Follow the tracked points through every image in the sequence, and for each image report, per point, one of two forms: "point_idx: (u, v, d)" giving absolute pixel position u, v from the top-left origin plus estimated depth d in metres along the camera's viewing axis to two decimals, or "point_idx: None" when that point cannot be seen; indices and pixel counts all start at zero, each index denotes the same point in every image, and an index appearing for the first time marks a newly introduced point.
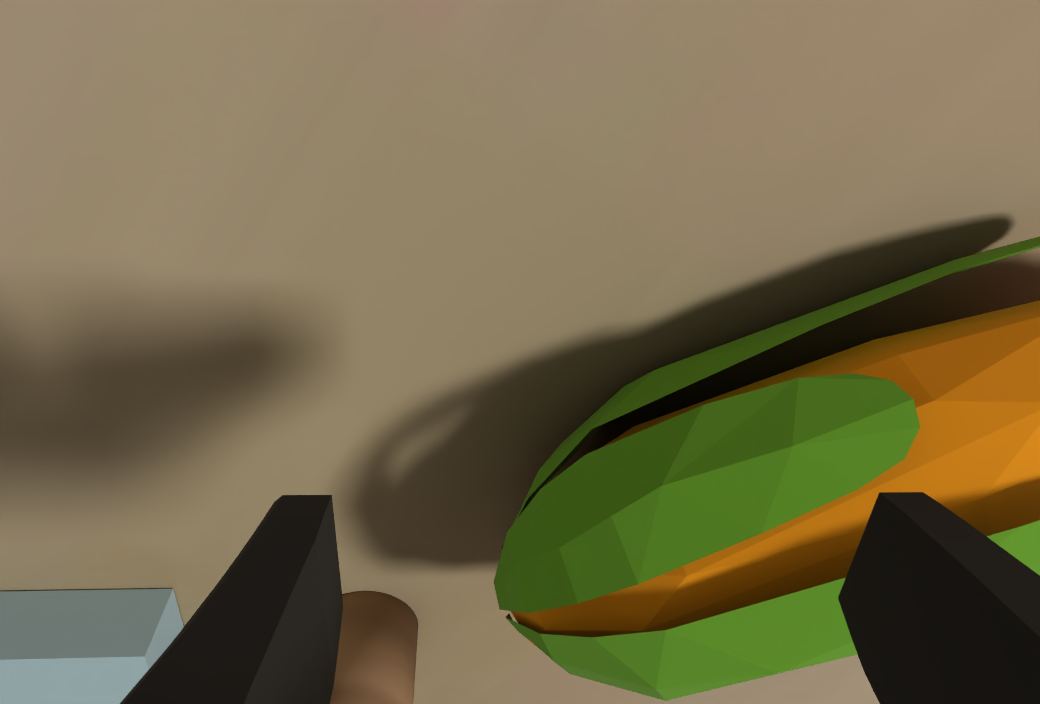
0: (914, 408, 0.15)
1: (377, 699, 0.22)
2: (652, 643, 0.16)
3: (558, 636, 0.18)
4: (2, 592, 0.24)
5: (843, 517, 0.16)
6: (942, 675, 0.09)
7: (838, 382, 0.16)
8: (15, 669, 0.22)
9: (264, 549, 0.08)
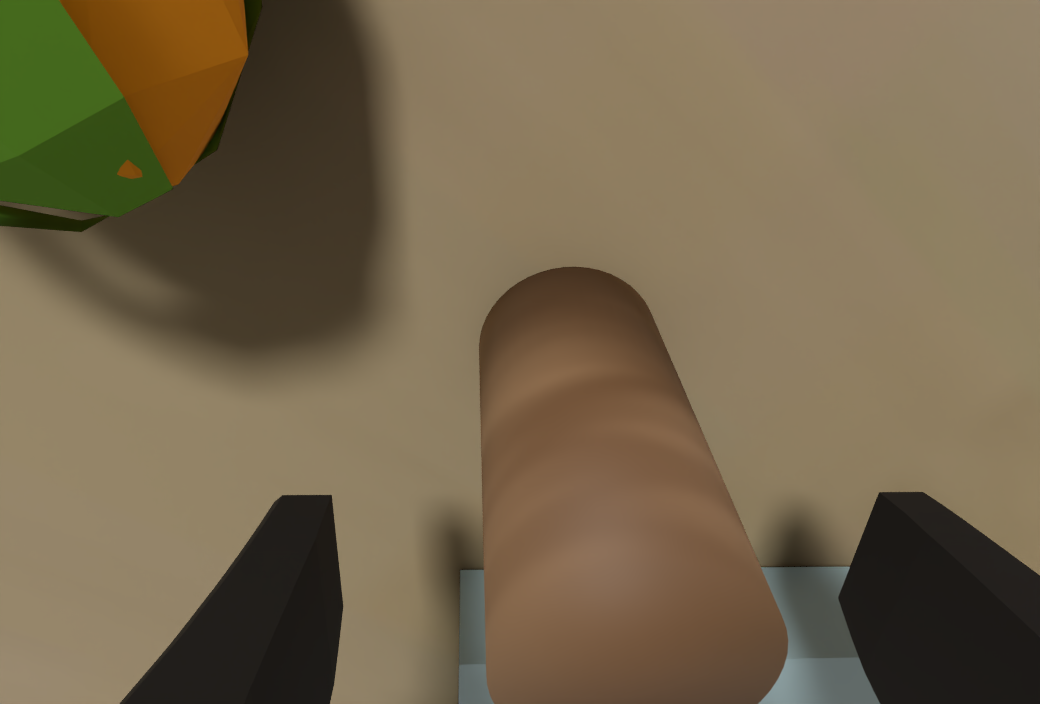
0: None
1: (496, 437, 0.11)
2: None
3: None
4: None
5: None
6: (942, 675, 0.09)
7: None
8: None
9: (264, 549, 0.08)
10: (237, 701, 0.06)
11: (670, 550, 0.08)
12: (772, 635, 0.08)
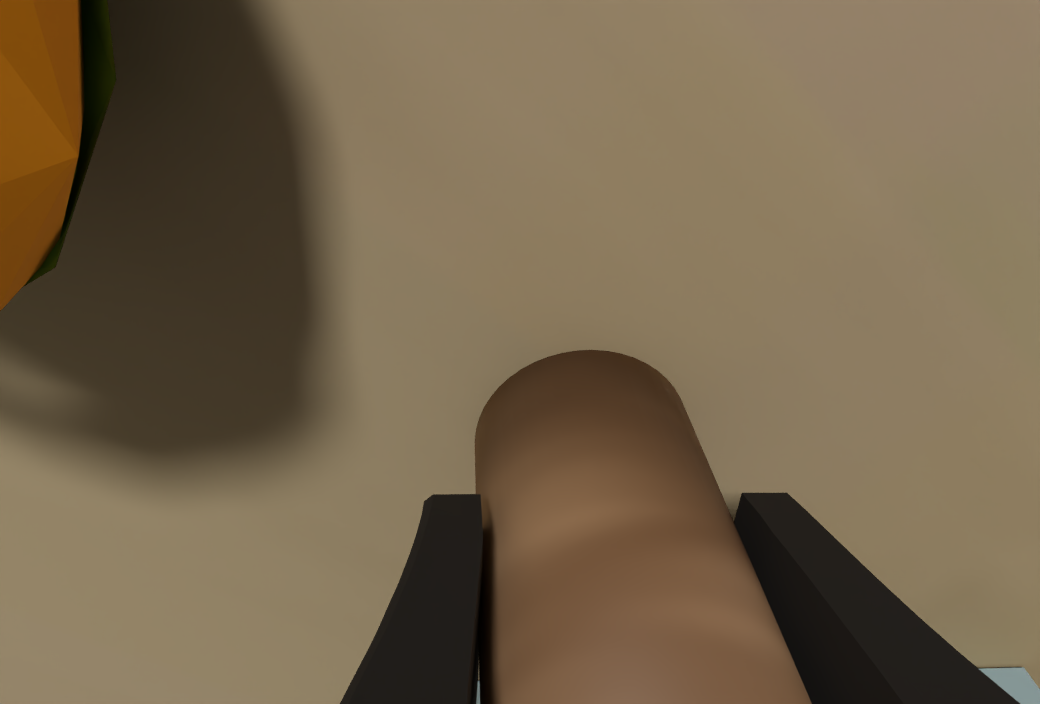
0: None
1: (497, 598, 0.08)
2: None
3: None
4: None
5: None
6: None
7: None
8: None
9: (436, 547, 0.08)
10: (459, 695, 0.06)
11: None
12: None
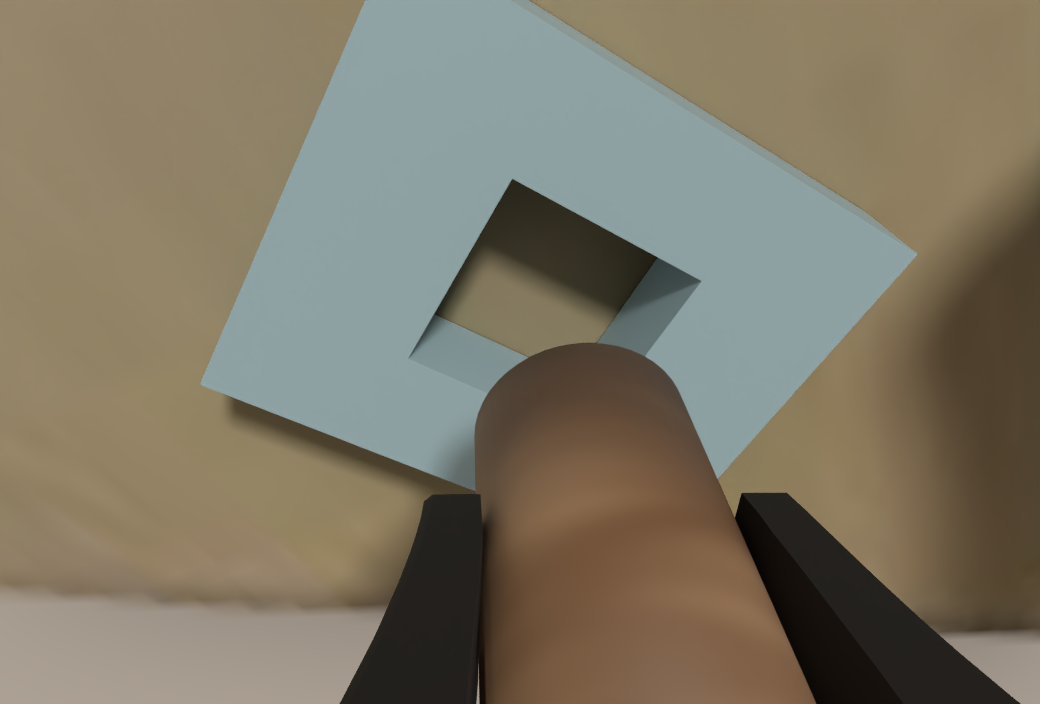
0: None
1: (494, 587, 0.08)
2: None
3: None
4: None
5: None
6: None
7: None
8: (333, 142, 0.14)
9: (436, 547, 0.08)
10: (459, 695, 0.06)
11: None
12: None
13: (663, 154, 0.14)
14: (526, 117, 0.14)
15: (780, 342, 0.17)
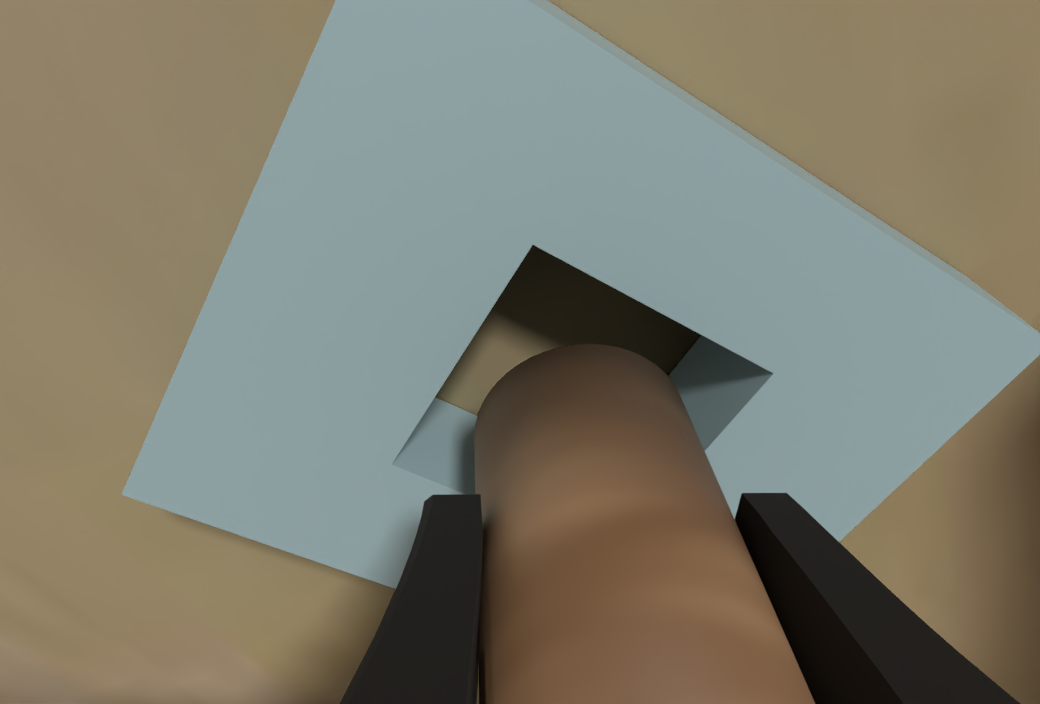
0: None
1: (494, 589, 0.08)
2: None
3: None
4: None
5: None
6: None
7: None
8: (291, 195, 0.10)
9: (436, 547, 0.08)
10: (459, 695, 0.06)
11: None
12: None
13: (736, 215, 0.11)
14: (554, 165, 0.10)
15: (867, 446, 0.13)
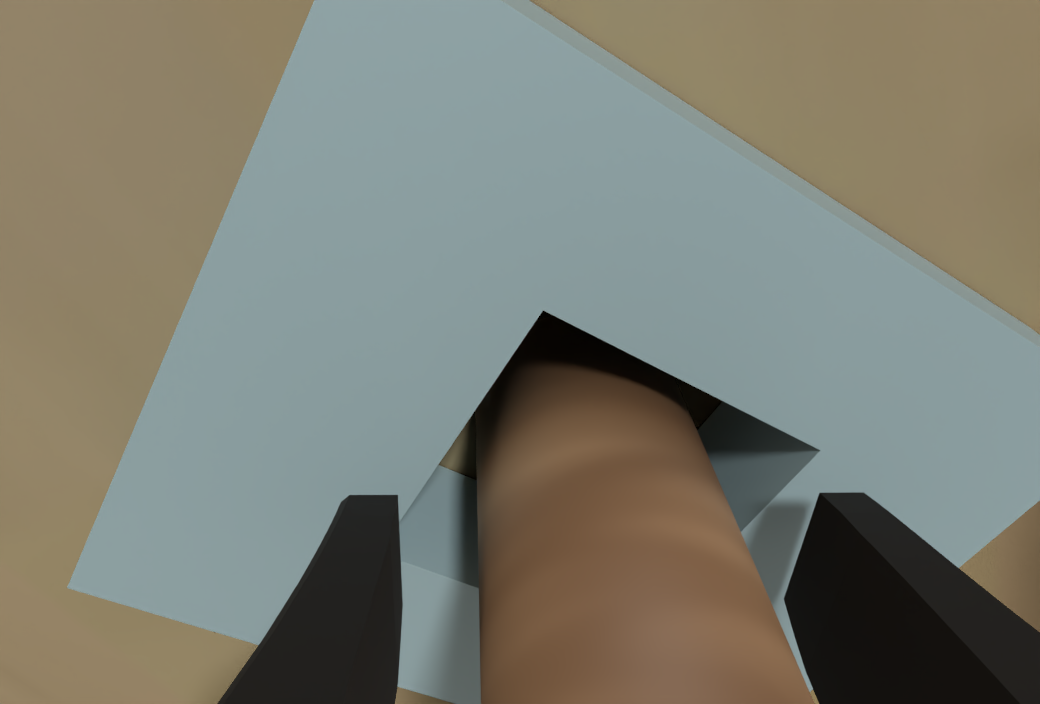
0: None
1: (493, 525, 0.09)
2: None
3: None
4: None
5: None
6: (875, 676, 0.09)
7: None
8: (255, 256, 0.09)
9: (341, 548, 0.08)
10: (337, 699, 0.06)
11: None
12: None
13: (783, 276, 0.09)
14: (569, 220, 0.09)
15: (923, 527, 0.12)
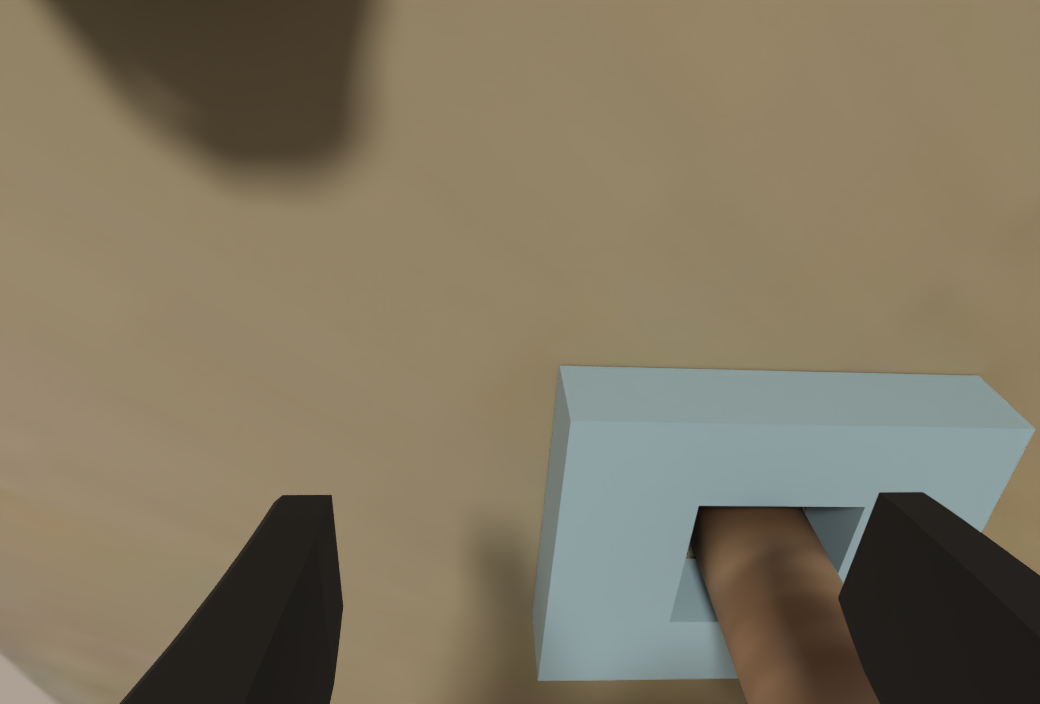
0: None
1: (716, 603, 0.20)
2: None
3: None
4: None
5: None
6: (942, 674, 0.09)
7: None
8: (573, 532, 0.20)
9: (264, 549, 0.08)
10: (237, 701, 0.06)
11: (814, 664, 0.17)
12: None
13: (800, 453, 0.19)
14: (694, 472, 0.19)
15: None
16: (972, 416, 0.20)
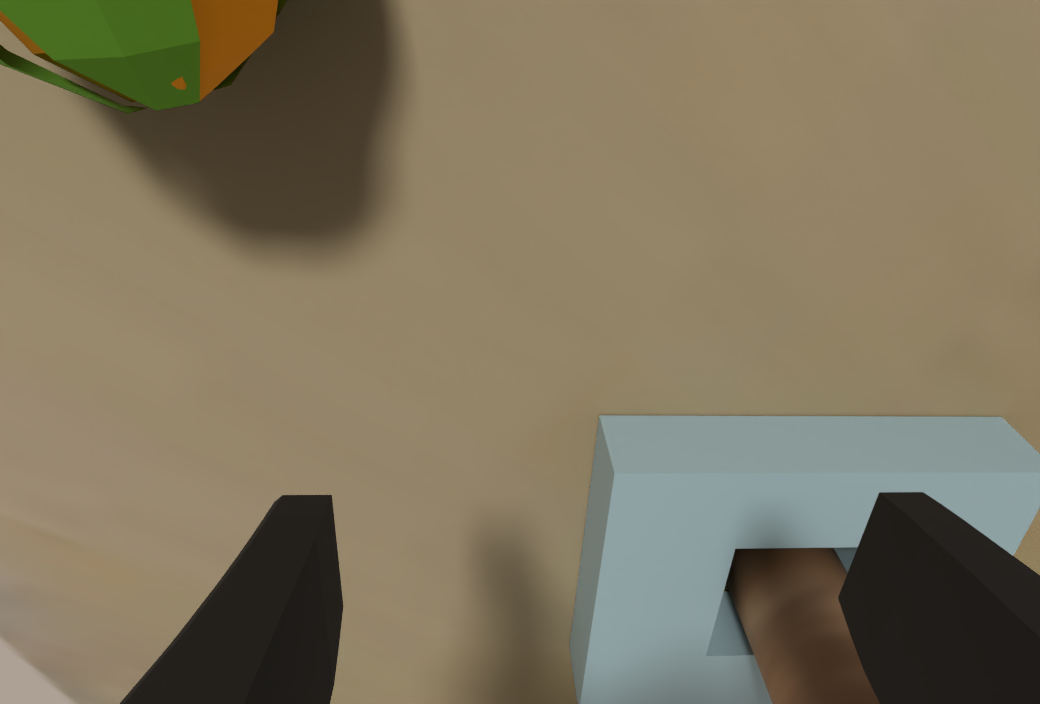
0: None
1: (753, 641, 0.21)
2: None
3: (22, 27, 0.10)
4: (582, 548, 0.24)
5: None
6: (942, 674, 0.09)
7: None
8: (615, 575, 0.21)
9: (264, 549, 0.08)
10: (237, 701, 0.06)
11: None
12: None
13: (833, 498, 0.20)
14: (731, 518, 0.20)
15: None
16: (997, 460, 0.20)
